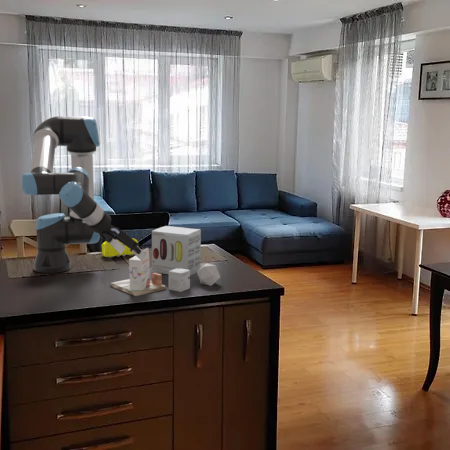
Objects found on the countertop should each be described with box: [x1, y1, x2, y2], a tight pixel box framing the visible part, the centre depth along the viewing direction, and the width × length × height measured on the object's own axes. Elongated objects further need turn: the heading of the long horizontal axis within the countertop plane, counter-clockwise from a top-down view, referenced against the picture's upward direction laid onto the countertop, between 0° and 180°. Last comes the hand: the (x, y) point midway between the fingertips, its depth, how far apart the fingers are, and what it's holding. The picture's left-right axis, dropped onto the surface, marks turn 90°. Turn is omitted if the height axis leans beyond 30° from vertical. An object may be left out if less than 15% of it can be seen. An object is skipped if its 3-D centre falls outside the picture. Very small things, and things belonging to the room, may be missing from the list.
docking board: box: [109, 272, 167, 297], centre depth 224 cm, size 17×14×5 cm
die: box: [196, 263, 221, 287], centre depth 230 cm, size 8×9×10 cm
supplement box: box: [151, 225, 202, 277], centre depth 247 cm, size 17×13×18 cm
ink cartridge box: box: [128, 247, 151, 291], centre depth 218 cm, size 9×5×15 cm, turn 166°
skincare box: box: [168, 268, 191, 293], centre depth 222 cm, size 6×6×7 cm
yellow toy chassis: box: [101, 237, 139, 258], centre depth 274 cm, size 16×6×8 cm, turn 118°
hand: (133, 254), depth 214 cm, fingers open, 13 cm apart
